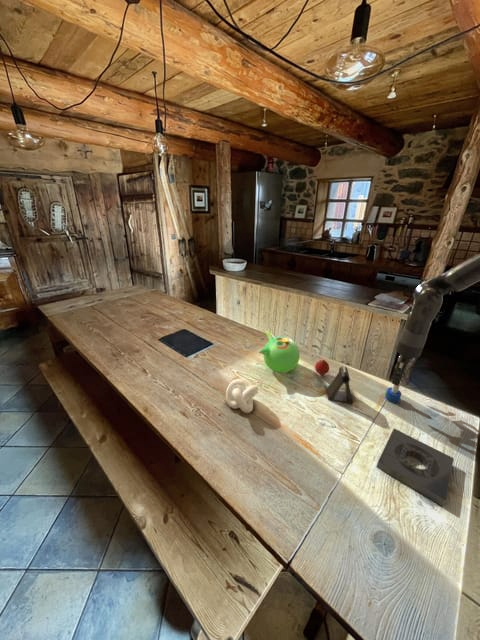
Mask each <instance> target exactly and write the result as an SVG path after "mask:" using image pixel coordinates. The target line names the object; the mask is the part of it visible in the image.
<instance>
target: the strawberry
mask: <svg viewBox="0 0 480 640" xmlns="http://www.w3.org/2000/svg"><path fill="white" fill-rule="evenodd" d="M314 369H315V371H316V373H317V374H319V375H320V376H323V375H326V374H328V372H329V371H330V365H329V363H328V362H327V361H326V359H320V360H318V361H317V362H316V363H315V365H314Z"/></svg>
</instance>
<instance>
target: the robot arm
mask: <svg viewBox="0 0 480 640" xmlns="http://www.w3.org/2000/svg"><path fill="white" fill-rule="evenodd" d="M478 282H480V253H477V254H475V255H473V256H470V257H468V258H467V259H465V260H463V261H461V262H460V263H458V264H456V265H454V266H453V267H451V268H450V269H449V270H447V271H445V272H444V273H442V274H438V275H436V276H433V277H432V278H430V279H427V280H426V281H424V282H422V283H420V284H419V285H418V286H417V287H416V288H415V289H414V290H413V293H412V295H413V296H412V297H413V300H414V305H413V307H412V309H411V312H410V313H408V315H407V317H406V319H405V322H404V325H403V328H402V330H401V333H400V334H399V338H398V342H397V344H396V348H395V350H396V352H397V354H399V356H398V358H397V362H396V364H395V367H394V372H393V374H392V376H393V378H392V382H391V384H392V385H396V386H399V384H400V381H401V382H402V378H403V377H404V376H406V372H407V371H408V369H409V366H410V365H411V364H412V362H413V360H414V359H419V358H420V357H421V355H422V352H423V350H424V347H425V344H426V343H427V338H428V334H429V331H430V328H431V326H432V323H433V321H434V319H435V318H436V316H437V315H438V313H439V311H440V309H441V307H442V304H443V301H444V300H443V299H444V297H443V296H445V295H447V294H449V293H451V292H456V293H458V292H461V291H463V290H465V289H467V288H469V287H470V286H472V285H474V284H476V283H478ZM400 385H401V384H400ZM399 387H400V386H399Z"/></svg>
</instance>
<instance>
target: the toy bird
mask: <svg viewBox="0 0 480 640" xmlns="http://www.w3.org/2000/svg"><path fill="white" fill-rule="evenodd" d="M265 334H266V337H267V343H266V344H265V346H264V347H263V348H260V349H259V350H258V353H259V354H262V355H263V360H264V363H265V365H266V366H267V367H268V368H269V369H270V370H271V371H274V372H276V373H287V372H290V371H292V370H293V369H295V368H296V366H297V365H298V364H299V361H300V357H301V355H300V354H301V353H300V349H299V346H298V345H297V343H296V342H295V341H294V340H292V339H291V338H289V337H287V336H277V337H275V336H274V335H273V334H272V333H271V332H270V331H269V330H266V332H265Z"/></svg>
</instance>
